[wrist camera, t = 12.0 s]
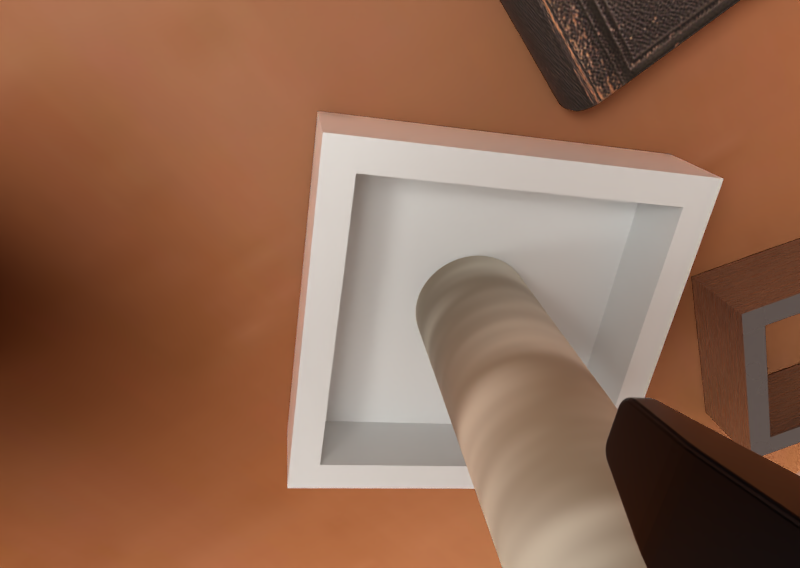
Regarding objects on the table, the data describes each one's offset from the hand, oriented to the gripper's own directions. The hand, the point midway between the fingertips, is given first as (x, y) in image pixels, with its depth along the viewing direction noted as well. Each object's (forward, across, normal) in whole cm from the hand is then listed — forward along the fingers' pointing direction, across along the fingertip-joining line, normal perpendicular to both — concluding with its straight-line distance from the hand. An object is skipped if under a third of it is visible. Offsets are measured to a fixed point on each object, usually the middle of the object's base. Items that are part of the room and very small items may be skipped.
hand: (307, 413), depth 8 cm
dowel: (+12, -6, +4) cm, 15 cm away
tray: (+13, -7, +4) cm, 15 cm away
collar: (+13, -20, +4) cm, 24 cm away
